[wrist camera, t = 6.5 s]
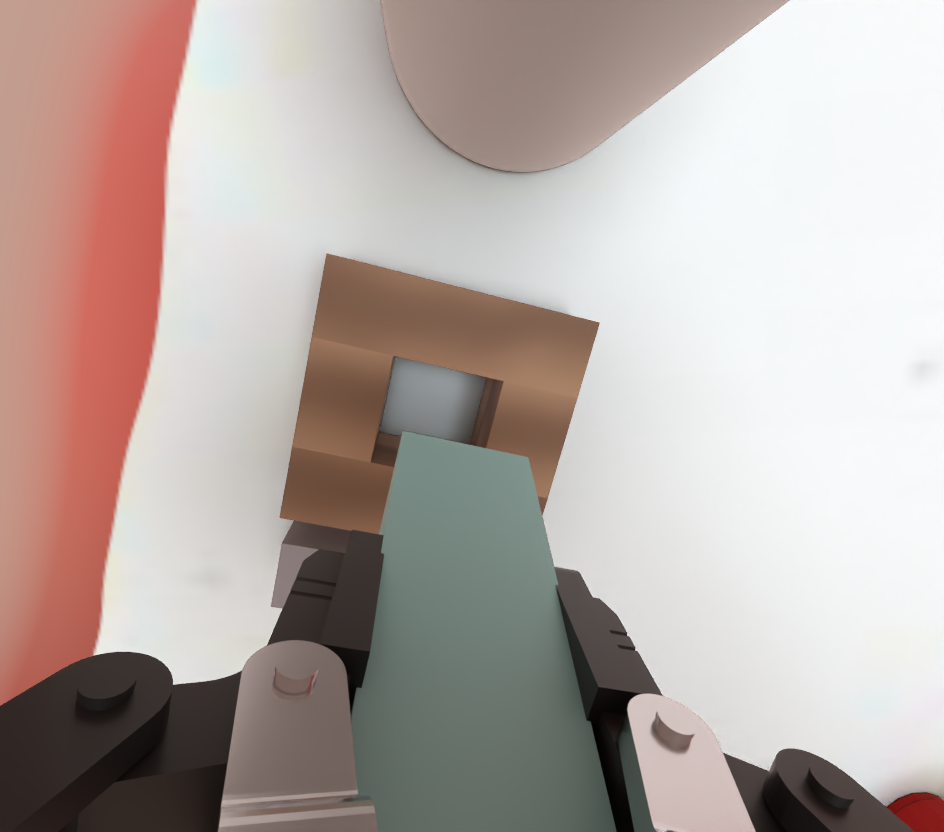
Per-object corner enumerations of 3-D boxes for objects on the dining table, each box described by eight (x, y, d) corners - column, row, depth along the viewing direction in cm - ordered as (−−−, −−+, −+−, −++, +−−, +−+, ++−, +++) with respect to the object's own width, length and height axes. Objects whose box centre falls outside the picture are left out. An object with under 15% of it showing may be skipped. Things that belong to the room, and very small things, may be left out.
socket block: (512, 519, 31) (528, 563, 26) (303, 478, 29) (279, 517, 25) (570, 315, 29) (599, 322, 24) (344, 258, 27) (326, 253, 22)
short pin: (354, 565, 31) (341, 617, 26) (294, 555, 31) (270, 606, 26) (365, 511, 30) (354, 555, 26) (304, 500, 30) (282, 543, 25)
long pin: (528, 457, 14) (650, 975, 5) (493, 553, 16) (545, 1086, 7) (402, 430, 14) (308, 951, 5) (379, 532, 15) (274, 1075, 6)
